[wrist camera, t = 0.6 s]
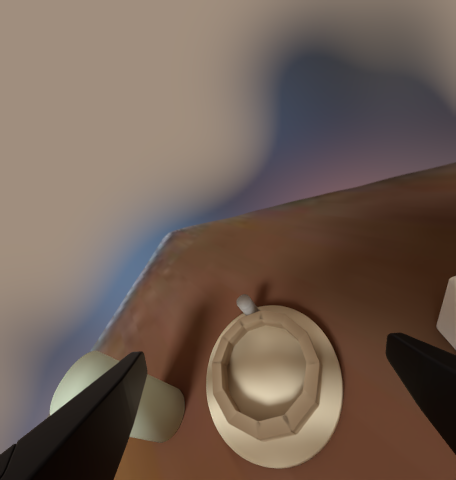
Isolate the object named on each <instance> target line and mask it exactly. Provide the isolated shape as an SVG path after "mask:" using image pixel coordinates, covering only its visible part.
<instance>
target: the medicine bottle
mask: <svg viewBox="0 0 456 480" xmlns="http://www.w3.org/2000/svg"><path fill="white" fill-rule="evenodd" d="M436 327H437V329H438V330H439V332H440V333H441V334H442V335H443V336H444V337H445V338H446V340H447V341H448V342H449V343H450V344H451V345H452V346H453V348H454V349H455V350H456V276H454V277H452V278H450V279H449V282H448V285H447V289H446V292H445V296H444V300H443V303H442V307H441V310H440V314H439V318H438V321H437V325H436Z"/></svg>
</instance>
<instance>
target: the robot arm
mask: <svg viewBox="0 0 456 480" xmlns="http://www.w3.org/2000/svg"><path fill="white" fill-rule="evenodd" d="M386 356H387V359H388V361H389V362H390V364H391V365H392V367H393V368H394V370H395V372H396V373H397V375H398V376H399V378H400V379H401V381H402V382H403V384H404V385H405V387H406V388H407V390H408V391H409V393H410V394H411V396H412V397H413V399H414V400H415V402H416V403H417V405H418V406H419V407H420V409H421V410H422V412H423V413H424V414H425V416H426V417H427V418H428V419H429V421H430V422H431V423H432V425H433V426H434V427H435V429H436V430H437V431H438V432H439V434H440V435H441V436H442V438H443V439H444V440H445V442H446V443H447V444H448V445H449V447H450V448H451V449H452V451H453V452H454V453H455V455H456V355H454V354H451V353H449V352H446V351H444V350H442V349H439V348H437V347H434V346H432V345H430V344H427V343H425V342H422V341H420V340H418V339H415V338H413V337H410V336H408V335H406V334H403V333H390V334H388V336H387V344H386ZM146 378H147V366H146V361H145V356H144V353H143V352H141V351H140V352H131V353H130V354H128V355H127V356H126V357H125V358H123V359H122V360H121V361H120V362H118V363H117V364H116V365H114V366H113V367H112V368H111V369H109V370H108V371H107V372H105V373H104V374H103V375H102V376H100V377H99V378H98V379H96V380H95V381H94V382H93V383H91V384H90V385H89V386H88V387H86V388H85V389H84V390H82V391H81V392H80V393H79V394H77V395H76V396H75V397H73V398H72V399H71V400H70V401H68V402H67V403H66V404H65V405H63V406H62V407H61V408H59V409H58V410H57V411H56V412H54V413H53V414H52V415H50V416H49V417H48V418H47V419H45V420H44V421H43V422H42V423H40V424H39V425H38V426H37V427H35V428H34V429H33V430H31V431H30V432H29V433H27V434H26V435H25V436H24V437H22V438H21V439H20V440H19V441H18V442H17V444H14V445H12V446H11V447H10V448H8V449H7V450H6V451H4V452H3V453H2V454H0V480H114V477H115V474H116V472H117V469H118V466H119V464H120V461H121V458H122V455H123V453H124V450H125V447H126V445H127V442H128V439H129V436H130V434H131V431H132V428H133V425H134V422H135V418H136V415H137V411H138V407H139V404H140V400H141V396H142V393H143V389H144V385H145V382H146Z"/></svg>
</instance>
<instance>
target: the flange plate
mask: <svg viewBox="0 0 456 480" xmlns="http://www.w3.org/2000/svg"><path fill="white" fill-rule="evenodd" d="M237 306H238V307H239V308H240V309H241V310H242V311H243V314H241V315H240V316H238V317H237V318H236V319H234V320H233V321H232V322H231V323H230V324H229V325H228V326H227V327H226V328H225V330H224V331H223V332H222V334H221V335H220V337H219V338H218V340H217V342H216V344H215V346H214V348H213V351H212V354H211V357H210V360H209V364H208V369H207V378H206V390H207V400H208V405H209V409H210V413H211V416H212V419H213V421H214V424H215V426H216V428H217V429H218V431H219V433H220V435H221V436H222V438H223V439H224V440H225V442H226V443H227V444H228V445H229V446H230V447H231V448H232V449H233V450H234V451H235V452H236V453H237V454H239V455H240V456H241V457H243V458H244V459H246V460H248V461H250V462H252V463H254V464H257V465H260V466H263V467H270V468H279V469H280V468H291V467H294V466H297V465H301V464H303V463H305V462H307V461H308V460H310V459H312V458H313V457H314V456H316V455H317V454H318V453H319V452H320V451H321V450H322V449H323V448H324V447H325V446H326V444H327V443H328V442H329V440H330V439H331V437H332V435H333V434H334V432H335V430H336V427H337V425H338V422H339V419H340V415H341V411H342V406H343V379H342V372H341V369H340V365H339V362H338V359H337V357H336V354H335V352H334V349H333V347H332V345H331V343H330V342H329V340H328V338H327V337H326V335H325V334H324V333H323V331H322V330H321V329H320V328H319V327H318V326H317V324H316V323H314V322H313V321H312V320H311V319H310V318H308V317H307V316H305V315H304V314H302V313H300V312H298V311H296V310H294V309H291V308H288V307H284V306H277V305H268V306H261V307H257V306H256V305H255V304H254V302H253V301H252V300H251V298H250V297H249V296H248V295H246V294H244V295H241V296H240V297H239V298H238V299H237Z"/></svg>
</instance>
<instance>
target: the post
mask: <svg viewBox="0 0 456 480" xmlns="http://www.w3.org/2000/svg"><path fill="white" fill-rule="evenodd" d="M118 362H120V361H118V360H116V359H114V358H112V357H109V356H107V355H105V354H103V353H101V352H99V351H92V352H89V353H87V354H86V355H84V356H83V357H81V358H80V359H79V360H78V361H77V362H76V363H75V364H74V365H73V366H72V367H71V368H70V369H69V371H68V372H67V373H66V375H65V376H64V377H63V379H62V381H61V382H60V384H59V386H58V388H57V390H56V392H55V394H54V396H53V399H52V403H51V407H50V415H52V414H53V413H54V412H56V411H57V410H58V409H59V408H61V407H62V406H63V405H65V404H66V403H67V402H68V401H70V400H71V399H72V398H73V397H75V396H76V395H77V394H79V393H80V392H81V391H82V390H84V389H85V388H86V387H88V386H89V385H90V384H91V383H93V382H94V381H95V380H96V379H98V378H99V377H100V376H102V375H103V374H104V373H105V372H107V371H108V370H109V369H111V368H112V367H113V366H114V365H116V364H117V363H118ZM184 410H185V401H184V396H183V394H182V392H181V391H180V390H179V389H178V388H176V387H174V386H172V385H170V384H167V383H165V382H163V381H161V380H159V379H157V378H154V377H152V376H150V375H148V374H147V378H146V382H145V385H144V389H143V393H142V396H141V400H140V404H139V407H138V411H137V415H136V418H135V422H134V425H133V428H132V431H131V434H130V436H129V437H134V438H139V439H144V440H149V441H154V442H165V441H167V440H169V439H170V438H171V437H172V436H173V435H174V434H175V433H176V431H177V430H178V428H179V426H180V424H181V422H182V419H183V416H184Z"/></svg>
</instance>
